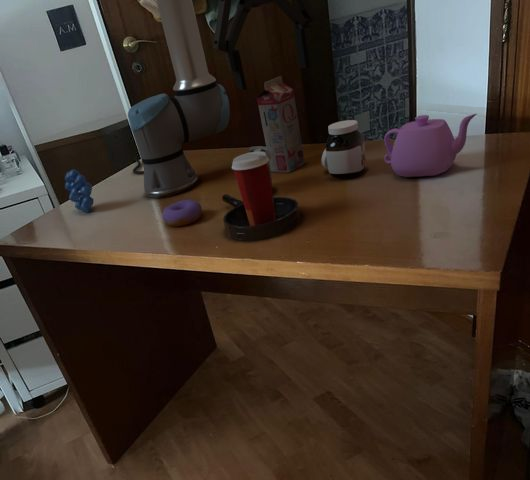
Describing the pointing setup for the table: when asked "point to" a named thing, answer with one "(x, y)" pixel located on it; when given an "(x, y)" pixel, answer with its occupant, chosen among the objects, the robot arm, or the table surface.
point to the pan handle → (231, 200)
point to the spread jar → (344, 150)
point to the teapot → (425, 146)
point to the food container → (264, 149)
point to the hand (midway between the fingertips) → (273, 78)
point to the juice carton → (281, 126)
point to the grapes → (79, 190)
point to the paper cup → (255, 186)
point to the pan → (242, 231)
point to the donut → (182, 213)
